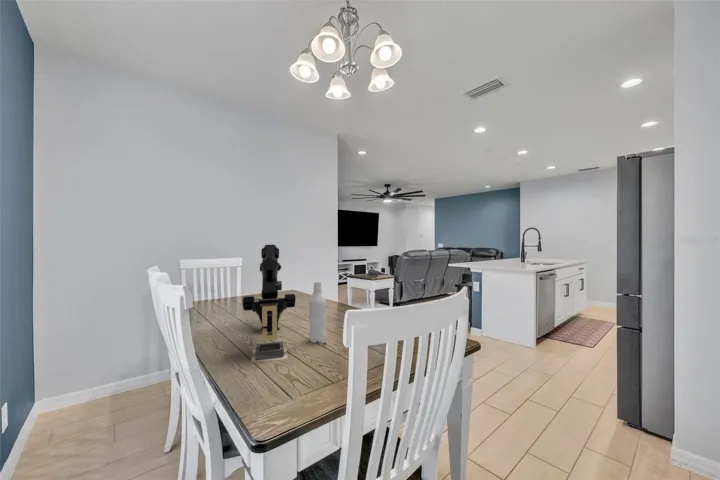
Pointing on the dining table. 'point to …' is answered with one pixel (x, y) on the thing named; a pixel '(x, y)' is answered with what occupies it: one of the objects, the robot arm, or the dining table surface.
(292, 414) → the dining table surface
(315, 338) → the water bottle
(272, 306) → the brass link
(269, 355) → the grey square tray
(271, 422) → the dining table surface
